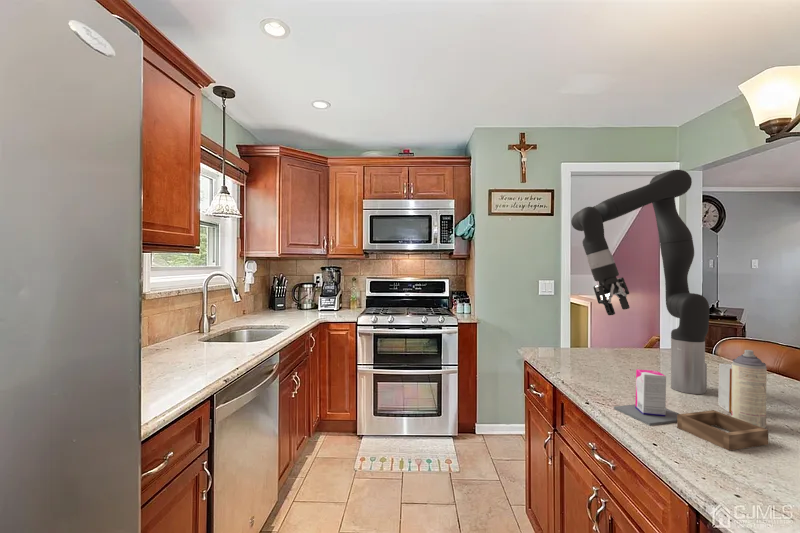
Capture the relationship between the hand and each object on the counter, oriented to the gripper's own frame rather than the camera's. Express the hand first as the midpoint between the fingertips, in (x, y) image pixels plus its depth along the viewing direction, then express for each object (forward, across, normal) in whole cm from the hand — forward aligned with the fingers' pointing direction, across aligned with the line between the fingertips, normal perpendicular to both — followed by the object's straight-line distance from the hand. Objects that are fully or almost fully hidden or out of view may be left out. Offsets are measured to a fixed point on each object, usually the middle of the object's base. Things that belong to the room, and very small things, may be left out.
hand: (619, 311), depth 123 cm
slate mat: (+28, -13, -7) cm, 32 cm away
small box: (+36, +12, -17) cm, 41 cm away
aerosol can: (+35, +2, -22) cm, 42 cm away
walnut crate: (+32, -12, -22) cm, 41 cm away
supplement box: (+28, -13, -7) cm, 31 cm away
